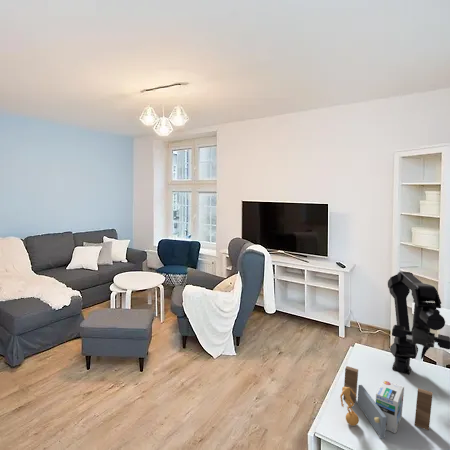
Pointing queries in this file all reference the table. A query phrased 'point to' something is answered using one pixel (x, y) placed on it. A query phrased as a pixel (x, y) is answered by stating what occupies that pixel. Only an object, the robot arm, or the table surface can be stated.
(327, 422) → the table surface
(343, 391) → the figurine
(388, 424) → the light bulb box
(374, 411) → the gate
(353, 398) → the wooden fence posts
